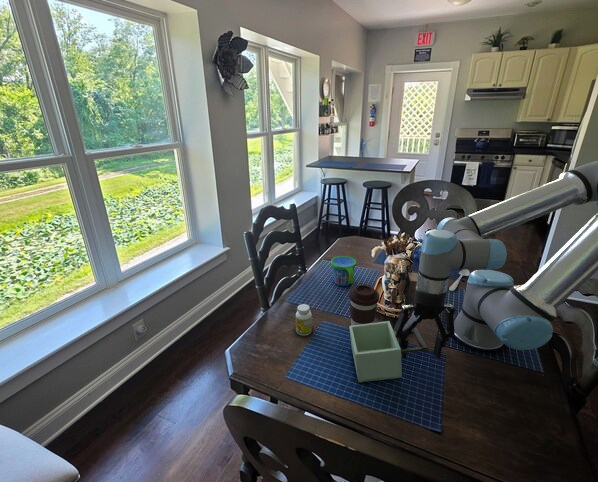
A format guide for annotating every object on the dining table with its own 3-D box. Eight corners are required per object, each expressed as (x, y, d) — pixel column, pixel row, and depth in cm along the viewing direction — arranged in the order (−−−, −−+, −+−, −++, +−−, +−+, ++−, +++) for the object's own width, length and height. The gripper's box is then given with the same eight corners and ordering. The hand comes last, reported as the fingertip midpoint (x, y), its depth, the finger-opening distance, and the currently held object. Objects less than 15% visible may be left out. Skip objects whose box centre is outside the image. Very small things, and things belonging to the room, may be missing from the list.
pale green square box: (416, 344, 99) (416, 317, 95) (431, 374, 87) (431, 345, 84) (352, 351, 100) (349, 325, 96) (358, 382, 89) (355, 354, 85)
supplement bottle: (314, 333, 108) (314, 309, 104) (300, 338, 106) (299, 314, 102) (307, 324, 113) (307, 301, 109) (293, 328, 110) (292, 305, 107)
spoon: (471, 273, 144) (472, 270, 143) (456, 292, 130) (456, 289, 129) (461, 270, 146) (462, 267, 146) (445, 289, 132) (446, 285, 131)
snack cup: (325, 275, 145) (326, 254, 141) (347, 272, 147) (348, 252, 143) (336, 293, 130) (337, 271, 127) (361, 290, 133) (362, 268, 129)
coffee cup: (376, 338, 105) (380, 299, 100) (346, 334, 107) (348, 296, 101) (376, 319, 114) (379, 283, 109) (348, 316, 116) (349, 280, 110)
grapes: (436, 261, 155) (440, 238, 150) (430, 266, 150) (434, 243, 146) (413, 254, 162) (416, 232, 158) (407, 259, 158) (410, 236, 153)
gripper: (466, 280, 87) (452, 345, 96) (386, 281, 87) (379, 346, 96) (480, 295, 80) (463, 364, 89) (393, 296, 80) (385, 365, 89)
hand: (419, 355), depth 93 cm, fingers open, 9 cm apart
